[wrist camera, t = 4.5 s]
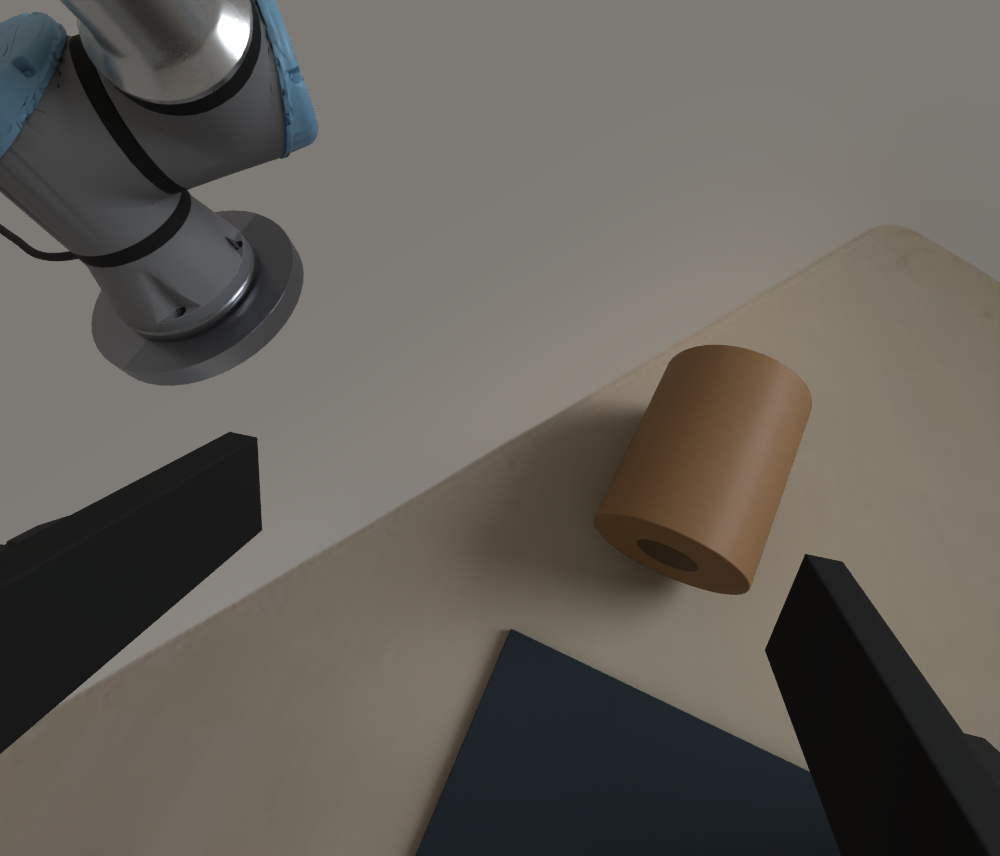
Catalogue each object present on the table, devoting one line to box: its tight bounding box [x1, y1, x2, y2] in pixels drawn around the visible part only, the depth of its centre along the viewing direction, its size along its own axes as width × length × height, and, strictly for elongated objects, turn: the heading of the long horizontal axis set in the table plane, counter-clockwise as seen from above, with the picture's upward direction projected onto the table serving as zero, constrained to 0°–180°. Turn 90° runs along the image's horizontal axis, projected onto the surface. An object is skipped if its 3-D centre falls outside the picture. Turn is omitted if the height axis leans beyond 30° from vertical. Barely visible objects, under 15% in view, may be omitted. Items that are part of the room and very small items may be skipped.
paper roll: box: [594, 345, 812, 595], centre depth 32 cm, size 12×9×9 cm
